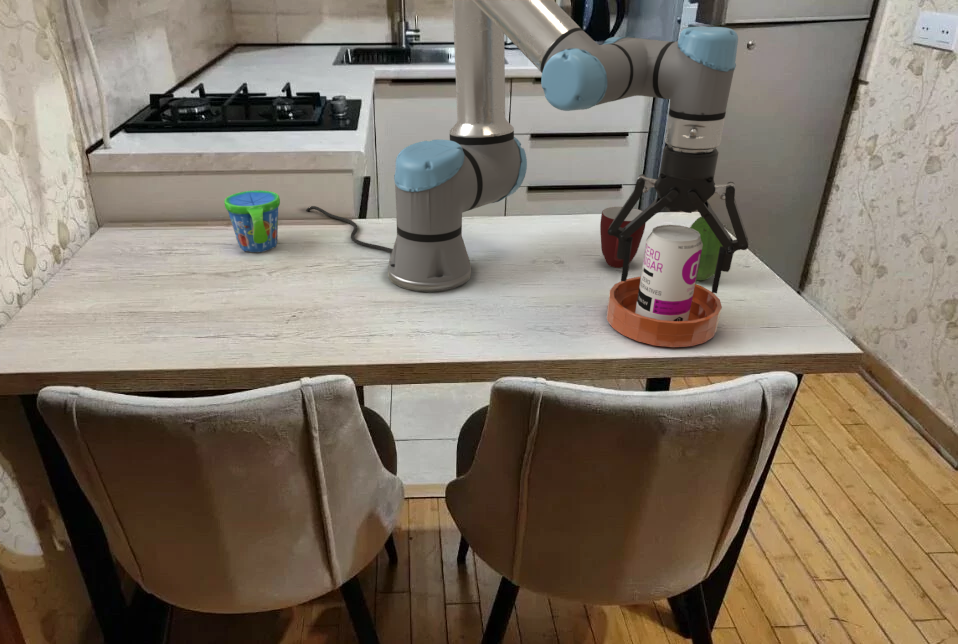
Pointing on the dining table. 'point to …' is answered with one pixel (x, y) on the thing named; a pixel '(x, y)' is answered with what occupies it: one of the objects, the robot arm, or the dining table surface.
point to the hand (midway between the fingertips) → (668, 283)
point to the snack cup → (254, 219)
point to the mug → (611, 242)
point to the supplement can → (669, 273)
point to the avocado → (706, 249)
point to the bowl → (663, 331)
